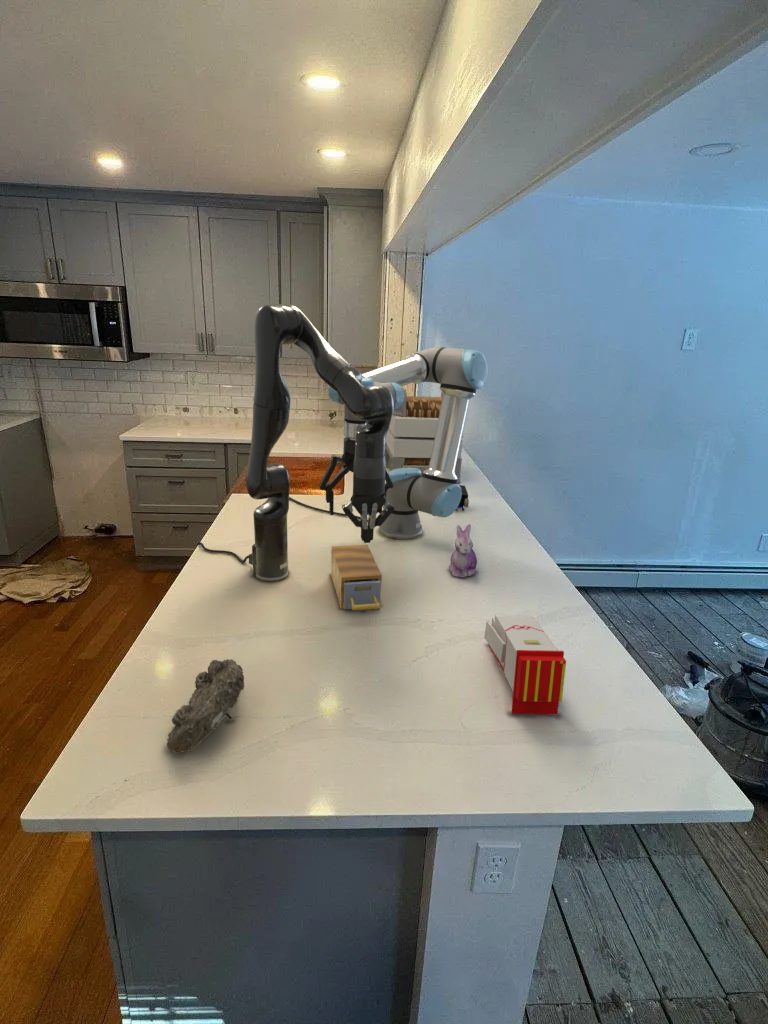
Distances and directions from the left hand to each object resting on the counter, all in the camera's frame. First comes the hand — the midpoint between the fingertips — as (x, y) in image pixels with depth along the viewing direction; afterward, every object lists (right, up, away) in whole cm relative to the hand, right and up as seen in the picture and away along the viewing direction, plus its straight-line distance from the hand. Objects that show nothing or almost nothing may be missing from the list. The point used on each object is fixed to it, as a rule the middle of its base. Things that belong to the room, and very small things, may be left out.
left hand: (366, 541), depth 138 cm
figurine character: (+34, +9, +92) cm, 98 cm away
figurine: (+28, -11, +35) cm, 46 cm away
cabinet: (-4, -15, +21) cm, 26 cm away
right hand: (-4, +7, +19) cm, 21 cm away
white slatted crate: (+21, +26, +137) cm, 141 cm away
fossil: (-29, -32, -30) cm, 52 cm away
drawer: (-3, -16, +16) cm, 22 cm away
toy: (+34, -28, -13) cm, 46 cm away
